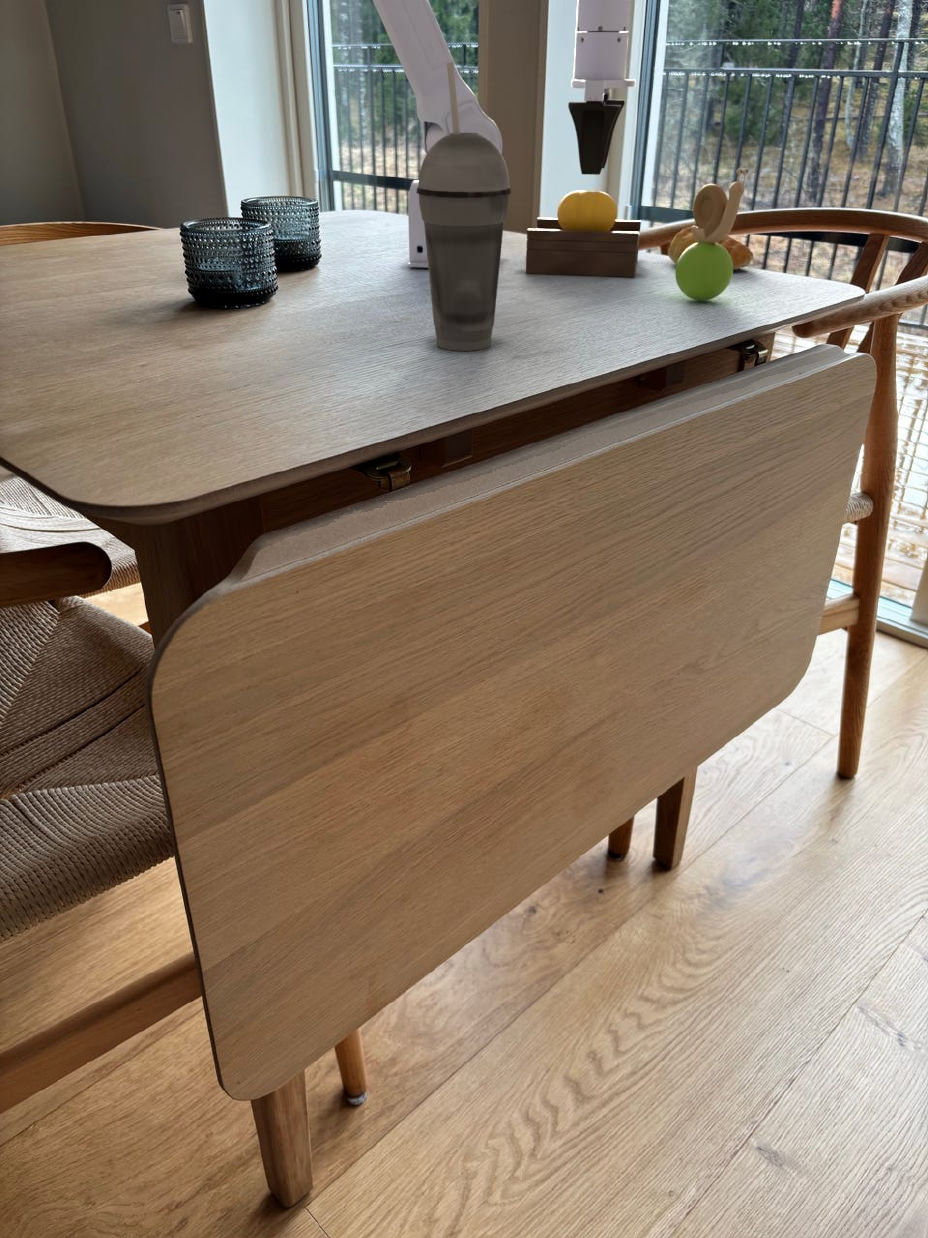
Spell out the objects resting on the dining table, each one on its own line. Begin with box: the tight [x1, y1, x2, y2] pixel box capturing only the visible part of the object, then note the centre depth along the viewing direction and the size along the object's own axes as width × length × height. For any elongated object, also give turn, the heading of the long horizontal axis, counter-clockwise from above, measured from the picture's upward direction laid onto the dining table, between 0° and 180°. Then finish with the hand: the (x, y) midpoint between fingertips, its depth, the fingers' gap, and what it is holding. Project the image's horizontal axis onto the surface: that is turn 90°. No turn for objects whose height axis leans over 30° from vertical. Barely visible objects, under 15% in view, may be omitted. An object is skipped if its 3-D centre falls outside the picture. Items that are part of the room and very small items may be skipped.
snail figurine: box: [674, 167, 749, 302], centre depth 89 cm, size 5×6×12 cm
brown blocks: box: [525, 217, 642, 278], centre depth 107 cm, size 12×10×4 cm
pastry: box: [667, 226, 754, 270], centre depth 108 cm, size 9×7×4 cm
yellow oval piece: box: [556, 190, 618, 231], centre depth 104 cm, size 7×5×5 cm
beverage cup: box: [416, 61, 512, 352], centre depth 73 cm, size 7×7×20 cm
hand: (593, 171), depth 109 cm, fingers open, 7 cm apart
